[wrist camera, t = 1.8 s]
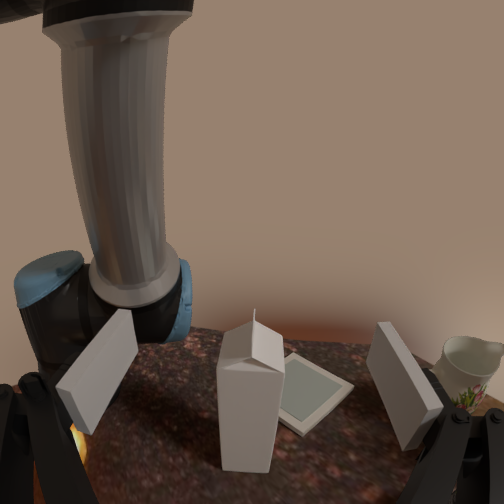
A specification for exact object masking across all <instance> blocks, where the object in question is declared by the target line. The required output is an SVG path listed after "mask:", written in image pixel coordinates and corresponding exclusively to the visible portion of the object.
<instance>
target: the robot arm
mask: <svg viewBox="0 0 504 504" xmlns="http://www.w3.org/2000/svg"><path fill="white" fill-rule="evenodd" d="M193 2H194V0H0V24H3V23H8V22H13V21H16V20H20V19H23V18H27V17H29V16H34V15H37V14H40V13H43V29H42V32H43V33H44V34H45V35H46V36H48V37H49V38H50V39H52V40H53V41H55V42H56V43H57V44H58V45H59V47H60V48H61V71H62V88H63V103H64V113H65V122H66V130H67V138H68V144H69V151H70V157H71V162H72V168H73V173H74V179H75V184H76V189H77V193H78V198H79V202H80V206H81V211H82V214H83V219H84V222H85V226H86V230H87V234H88V237H89V240H90V244H91V248H92V250H93V254H94V257H93V259H92V261H91V264H85V263H84V258H83V257H82V254H81V253H80V252H78V251H73V250H68V251H61V252H56V253H53V254H49V255H47V256H44V257H41V258H39V259H37V260H35V261H33V262H31V263H29V264H28V265H26V266H25V267H23V268H22V269H21V270H20V271H19V272H18V273H17V275H16V277H15V280H14V289H15V294H16V300H17V307H18V308H19V311H20V314H21V317H22V320H23V323H24V326H25V329H26V332H27V335H28V338H29V340H30V343H31V346H32V348H33V351H34V353H35V356H36V358H37V361H38V370H39V373H38V372H29V373H27V374H25V375H23V376H22V377H21V378H20V380H19V382H18V386H19V388H20V390H21V392H22V394H19V393H15V392H14V390H13V389H12V387H11V386H10V385H8V384H0V504H34V496H33V470H34V460H35V465H36V469H37V474H38V478H39V481H40V485H41V489H42V492H43V496H44V499H45V502H46V504H99V502H98V500H97V498H96V496H95V493H94V491H93V489H92V487H91V484H90V482H89V479H88V477H87V474H86V472H85V469H84V466H83V464H82V461H81V458H80V455H79V453H78V450H77V447H76V444H75V440H74V437H73V434H72V431H71V430H70V427H71V425H72V423H74V425H75V427H76V429H77V431H80V432H83V433H86V434H89V435H92V434H93V432H94V430H95V428H96V426H97V424H98V422H99V420H100V419H101V417H102V415H103V413H104V411H105V409H106V408H108V407H109V406H110V405H111V404H112V403H113V402H114V401H115V400H116V398H117V397H118V395H119V392H120V389H121V381H122V379H123V377H124V375H125V373H126V372H127V370H128V368H129V366H130V365H131V363H132V361H133V360H134V358H135V356H136V354H137V353H138V347H137V344H149V343H158V344H165V343H167V342H176V341H181V340H183V339H184V338H185V337H186V336H187V335H188V333H189V330H190V324H191V317H192V309H191V305H192V278H191V271H190V266H189V264H188V262H187V261H186V260H182V259H180V258H178V256H177V253H176V251H175V250H174V249H173V248H172V246H171V245H170V244H168V243H167V242H166V234H165V214H164V182H163V130H164V129H163V128H164V99H165V79H166V66H167V54H168V43H169V37H170V34H171V33H172V31H173V30H174V29H175V28H177V27H178V26H179V25H180V24H181V23H183V22H184V21H185V20H186V19H188V18H189V17H191V16H192V9H193ZM366 364H367V366H368V368H369V370H370V373H371V375H372V377H373V380H374V382H375V384H376V387H377V389H378V391H379V394H380V396H381V399H382V401H383V403H384V406H385V408H386V411H387V413H388V416H389V418H390V421H391V423H392V426H393V428H394V431H395V433H396V436H397V439H398V441H399V444H400V446H401V449H402V452H403V451H407V450H412V449H416V448H418V446H419V445H420V443H421V442H422V440H423V442H424V444H425V448H424V449H423V450H422V452H421V453H420V454H419V456H418V457H417V458H416V460H418V461H417V464H416V466H415V468H414V470H413V472H412V474H411V476H410V478H409V480H408V482H407V484H406V486H405V488H404V490H403V491H402V493H401V495H400V497H399V499H398V500H397V502H396V504H448V502H449V499H450V497H451V494H452V491H453V488H454V486H455V483H456V480H457V489H456V499H455V504H504V412H503V411H502V410H500V409H498V408H491V409H489V410H488V411H487V412H486V414H485V415H484V416H471V415H470V413H469V412H468V411H467V410H465V409H463V408H458V407H457V408H456V407H455V405H454V404H453V402H452V400H451V399H450V397H449V396H448V394H447V393H446V391H445V389H444V388H443V386H442V385H441V383H439V380H438V379H437V377H436V375H435V374H434V373H433V372H431V371H430V370H429V369H428V368H424V369H421V368H420V367H419V365H418V364H417V362H416V361H415V359H414V357H413V356H412V354H411V353H410V351H409V350H408V348H407V347H406V345H405V344H404V342H403V341H402V339H401V338H400V336H399V335H398V333H397V332H396V330H395V329H394V327H393V326H392V324H391V323H390V322H377V325H376V330H375V333H374V337H373V340H372V344H371V347H370V351H369V354H368V357H367V361H366Z"/></svg>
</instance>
